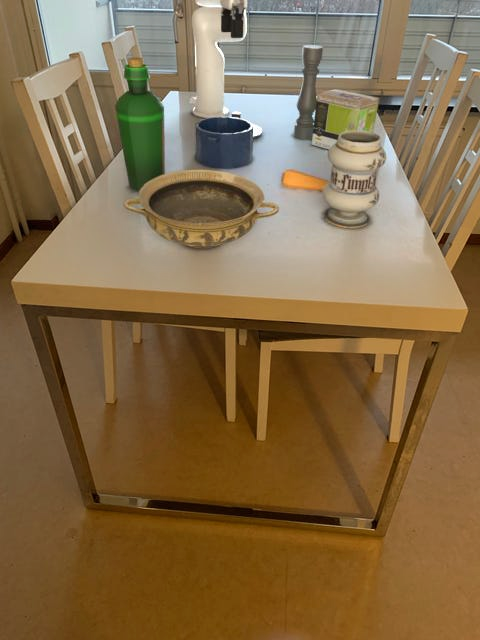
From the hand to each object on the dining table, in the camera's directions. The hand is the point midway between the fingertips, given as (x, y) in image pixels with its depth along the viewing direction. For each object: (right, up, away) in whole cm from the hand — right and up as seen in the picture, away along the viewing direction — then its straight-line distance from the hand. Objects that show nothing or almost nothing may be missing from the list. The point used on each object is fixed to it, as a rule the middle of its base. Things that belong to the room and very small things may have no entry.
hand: (231, 34), depth 129 cm
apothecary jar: (+26, -54, -21) cm, 63 cm away
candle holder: (+22, -18, +24) cm, 38 cm away
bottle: (-21, -44, -10) cm, 49 cm away
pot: (-2, -31, +7) cm, 32 cm away
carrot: (+22, -44, -9) cm, 50 cm away
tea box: (+32, -24, +16) cm, 44 cm away
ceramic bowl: (-5, -60, -30) cm, 67 cm away
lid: (+1, -17, +24) cm, 29 cm away
